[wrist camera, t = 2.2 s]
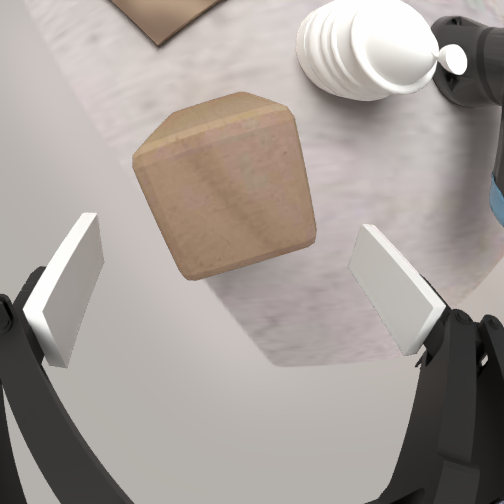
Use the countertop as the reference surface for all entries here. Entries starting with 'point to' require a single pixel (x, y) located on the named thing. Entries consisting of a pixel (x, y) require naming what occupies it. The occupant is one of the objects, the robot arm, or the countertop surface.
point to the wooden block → (227, 184)
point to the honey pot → (371, 49)
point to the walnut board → (163, 15)
